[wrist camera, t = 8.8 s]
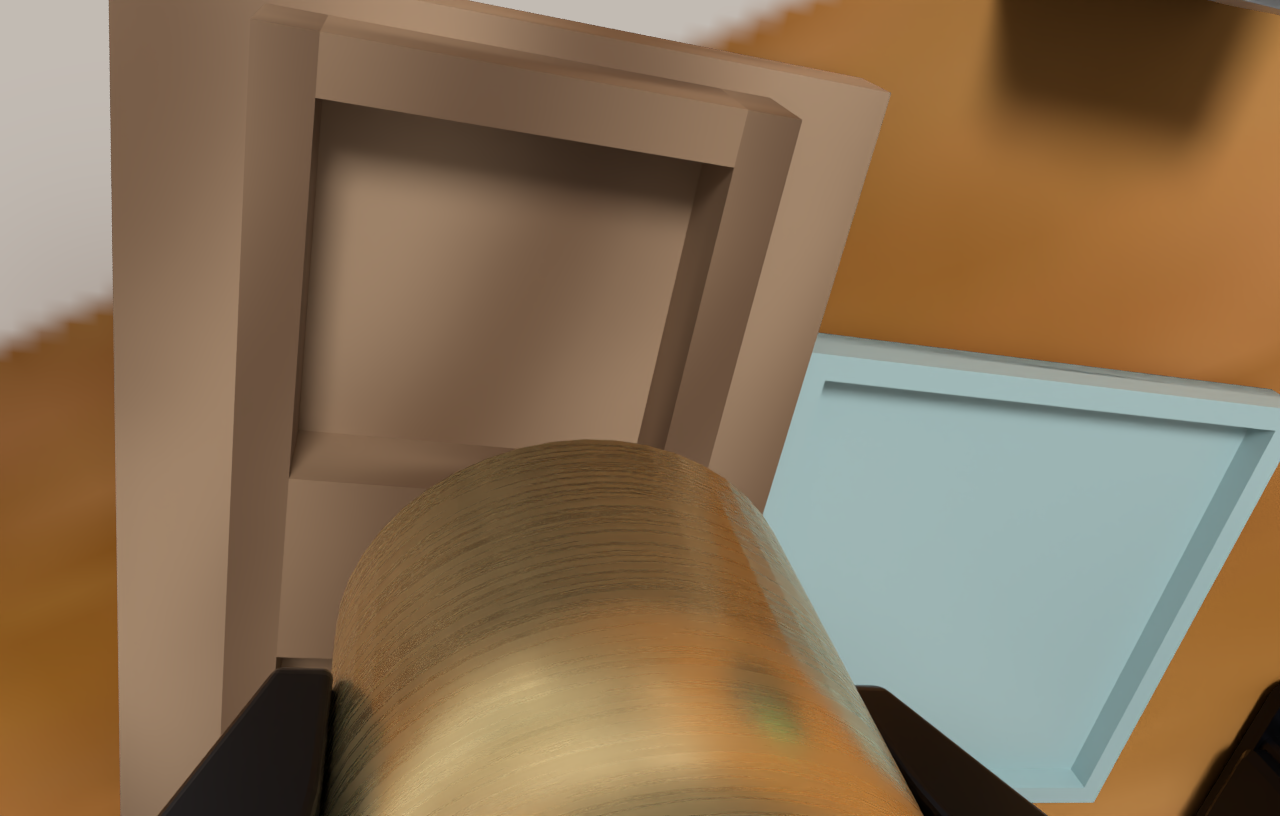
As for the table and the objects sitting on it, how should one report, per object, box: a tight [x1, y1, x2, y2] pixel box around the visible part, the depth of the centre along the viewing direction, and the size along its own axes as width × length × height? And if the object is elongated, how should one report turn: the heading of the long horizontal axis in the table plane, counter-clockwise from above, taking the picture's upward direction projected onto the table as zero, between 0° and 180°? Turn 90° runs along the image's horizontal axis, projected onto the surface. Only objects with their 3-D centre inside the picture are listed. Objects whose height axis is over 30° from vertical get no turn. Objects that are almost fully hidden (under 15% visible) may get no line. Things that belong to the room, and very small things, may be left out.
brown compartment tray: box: [109, 0, 891, 816], centre depth 18 cm, size 11×17×3 cm, turn 168°
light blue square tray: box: [763, 333, 1280, 803], centre depth 22 cm, size 11×11×1 cm
